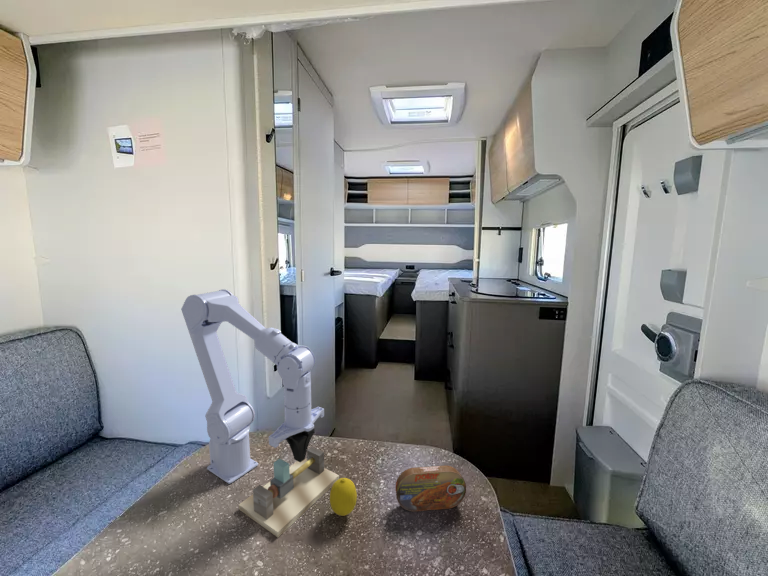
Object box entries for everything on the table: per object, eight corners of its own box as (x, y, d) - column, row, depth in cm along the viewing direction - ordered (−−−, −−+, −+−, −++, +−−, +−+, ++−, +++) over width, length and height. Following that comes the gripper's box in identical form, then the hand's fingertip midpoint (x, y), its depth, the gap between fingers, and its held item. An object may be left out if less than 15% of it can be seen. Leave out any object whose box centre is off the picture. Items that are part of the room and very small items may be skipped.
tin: (395, 513, 68) (396, 476, 67) (394, 501, 71) (394, 466, 70) (465, 508, 70) (468, 472, 68) (461, 496, 73) (462, 462, 72)
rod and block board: (278, 537, 62) (276, 509, 61) (239, 509, 69) (237, 483, 68) (339, 479, 77) (338, 456, 76) (302, 461, 84) (302, 439, 83)
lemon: (352, 527, 65) (352, 491, 63) (325, 522, 66) (325, 486, 64) (360, 505, 70) (360, 471, 69) (335, 501, 71) (335, 467, 70)
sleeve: (280, 499, 68) (279, 470, 67) (270, 493, 70) (269, 465, 69) (293, 488, 71) (292, 460, 70) (284, 482, 73) (283, 455, 72)
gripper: (284, 423, 64) (286, 486, 66) (333, 394, 76) (334, 448, 78) (260, 413, 67) (263, 472, 69) (311, 387, 80) (312, 438, 82)
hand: (299, 459), depth 74 cm, fingers closed
